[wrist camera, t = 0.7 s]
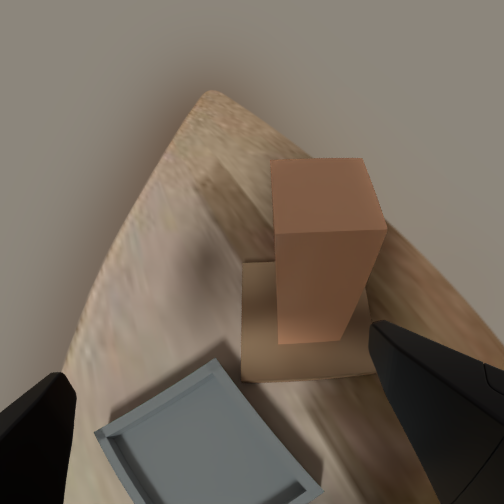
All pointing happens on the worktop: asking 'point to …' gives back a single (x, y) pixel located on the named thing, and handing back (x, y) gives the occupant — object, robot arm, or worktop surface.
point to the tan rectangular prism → (322, 244)
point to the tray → (203, 448)
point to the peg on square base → (301, 354)
